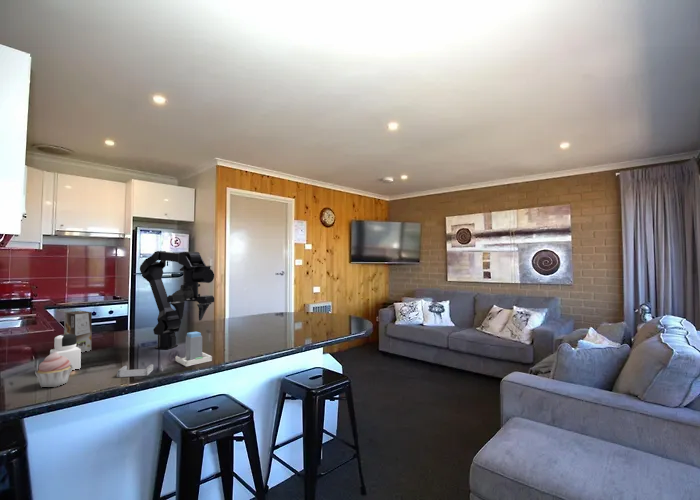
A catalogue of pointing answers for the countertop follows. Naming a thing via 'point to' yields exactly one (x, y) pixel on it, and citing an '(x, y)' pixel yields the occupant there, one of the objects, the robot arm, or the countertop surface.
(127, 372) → the shallow white tray
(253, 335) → the countertop surface
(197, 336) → the fibre plug
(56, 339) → the medicine bottle
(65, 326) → the coffee box
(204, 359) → the dock tray
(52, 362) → the cupcake
